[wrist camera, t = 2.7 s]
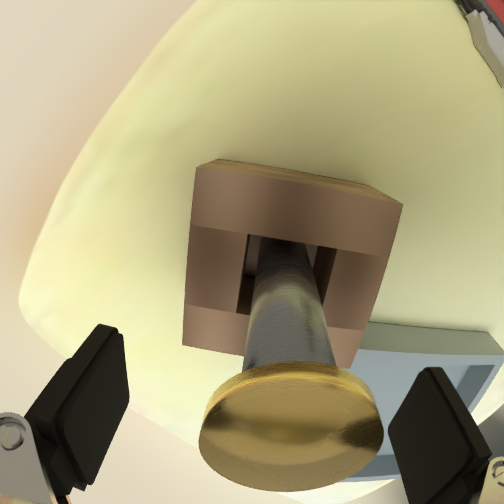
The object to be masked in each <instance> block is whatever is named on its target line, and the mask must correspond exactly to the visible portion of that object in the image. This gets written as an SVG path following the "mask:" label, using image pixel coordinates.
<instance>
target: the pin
mask: <svg viewBox="0 0 504 504" xmlns="http://www.w3.org/2000/svg"><path fill="white" fill-rule="evenodd" d="M383 439H384V428H383V425H382V421H381V418H380V415H379V411H378V408H377V405H376V402H375V398H374V395H373V393H372V391H371V390H370V388H369V387H368V386H367V385H366V383H365V382H364V381H362V380H361V379H360V378H359V377H357V376H356V375H354V374H352V373H351V372H349V371H347V370H344V369H342V368H339V367H337V366H336V362H335V358H334V353H333V349H332V345H331V341H330V336H329V332H328V328H327V324H326V320H325V316H324V312H323V308H322V304H321V300H320V296H319V293H318V289H317V285H316V281H315V277H314V274H313V270H312V266H311V262H310V259H309V255H308V252H307V248H306V244H305V243H300V242H294V241H288V240H282V239H276V238H270V237H263V238H262V240H261V242H260V247H259V254H258V261H257V269H256V276H255V283H254V290H253V298H252V305H251V312H250V319H249V326H248V333H247V340H246V348H245V355H244V362H243V369H242V373H240V374H237V375H236V376H234V377H232V378H230V379H229V380H227V381H226V382H225V383H223V384H222V385H221V386H220V387H219V388H218V389H217V390H216V391H215V392H214V393H213V395H212V396H211V398H210V399H209V402H208V404H207V407H206V411H205V415H204V419H203V423H202V427H201V431H200V436H199V449H200V452H201V455H202V456H203V458H204V460H205V461H206V463H207V464H208V465H209V466H210V467H211V468H212V469H213V470H214V471H216V472H217V473H218V474H220V475H221V476H223V477H225V478H227V479H228V480H231V481H233V482H235V483H238V484H240V485H243V486H247V487H250V488H255V489H260V490H266V491H276V492H295V491H305V490H311V489H316V488H321V487H325V486H328V485H331V484H334V483H337V482H339V481H342V480H344V479H346V478H348V477H350V476H352V475H353V474H355V473H357V472H358V471H360V470H361V469H362V468H364V467H365V466H366V465H367V464H368V463H370V462H371V461H372V460H373V458H374V457H375V456H376V455H377V453H378V452H379V450H380V448H381V446H382V443H383Z"/></svg>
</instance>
